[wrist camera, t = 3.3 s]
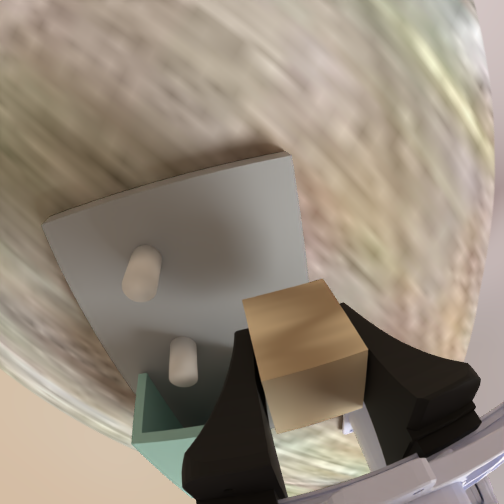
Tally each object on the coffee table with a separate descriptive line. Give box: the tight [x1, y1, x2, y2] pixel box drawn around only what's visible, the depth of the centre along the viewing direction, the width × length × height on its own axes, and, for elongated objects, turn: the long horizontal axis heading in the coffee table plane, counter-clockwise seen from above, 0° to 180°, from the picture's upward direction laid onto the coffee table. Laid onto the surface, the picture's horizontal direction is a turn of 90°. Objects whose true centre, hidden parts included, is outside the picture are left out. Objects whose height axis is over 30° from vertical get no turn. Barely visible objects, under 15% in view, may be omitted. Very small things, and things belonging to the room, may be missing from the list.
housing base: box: [41, 151, 309, 429], centre depth 19 cm, size 13×22×4 cm, turn 11°
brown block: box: [242, 279, 368, 434], centre depth 12 cm, size 4×4×5 cm
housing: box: [131, 373, 274, 498], centre depth 19 cm, size 7×10×5 cm
